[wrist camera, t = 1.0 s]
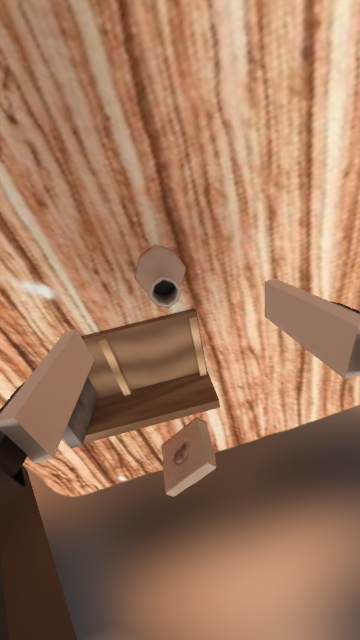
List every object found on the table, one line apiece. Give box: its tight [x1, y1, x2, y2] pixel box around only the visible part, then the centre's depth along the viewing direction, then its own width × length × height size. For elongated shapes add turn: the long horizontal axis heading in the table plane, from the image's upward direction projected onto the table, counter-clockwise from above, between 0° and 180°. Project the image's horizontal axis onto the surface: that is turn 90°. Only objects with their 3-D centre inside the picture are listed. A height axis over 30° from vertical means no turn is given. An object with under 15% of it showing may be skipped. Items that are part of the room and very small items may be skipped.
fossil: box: [162, 418, 216, 496], centre depth 41 cm, size 12×4×10 cm, turn 137°
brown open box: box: [62, 309, 220, 448], centre depth 30 cm, size 14×22×10 cm, turn 102°
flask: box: [135, 245, 186, 308], centre depth 24 cm, size 7×7×10 cm
